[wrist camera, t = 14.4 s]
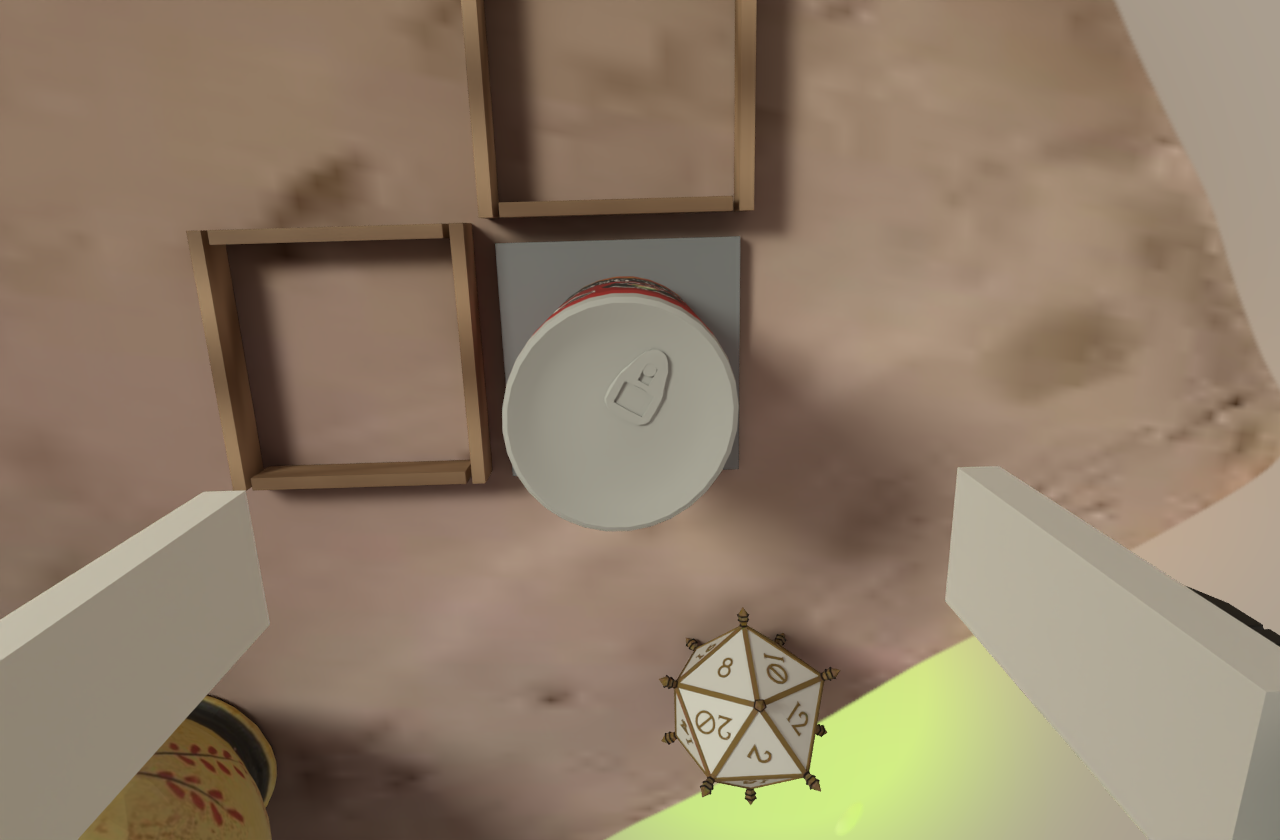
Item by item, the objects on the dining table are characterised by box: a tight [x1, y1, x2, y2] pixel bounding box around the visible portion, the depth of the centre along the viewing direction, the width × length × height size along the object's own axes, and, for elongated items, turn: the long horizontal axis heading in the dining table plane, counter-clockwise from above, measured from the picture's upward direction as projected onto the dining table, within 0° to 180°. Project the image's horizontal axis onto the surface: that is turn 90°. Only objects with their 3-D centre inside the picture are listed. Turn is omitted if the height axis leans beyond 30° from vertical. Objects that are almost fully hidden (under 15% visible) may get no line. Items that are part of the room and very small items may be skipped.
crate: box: [186, 223, 492, 491], centre depth 33 cm, size 12×12×2 cm
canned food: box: [502, 276, 739, 531], centre depth 28 cm, size 8×8×11 cm
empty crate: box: [461, 0, 757, 218], centre depth 30 cm, size 12×12×2 cm
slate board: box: [495, 236, 740, 476], centre depth 34 cm, size 11×11×1 cm
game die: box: [659, 608, 840, 804], centre depth 35 cm, size 9×8×10 cm
